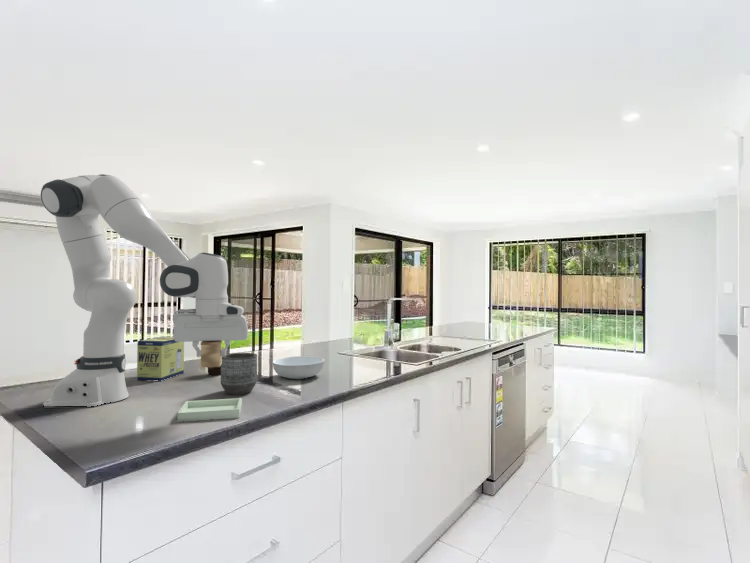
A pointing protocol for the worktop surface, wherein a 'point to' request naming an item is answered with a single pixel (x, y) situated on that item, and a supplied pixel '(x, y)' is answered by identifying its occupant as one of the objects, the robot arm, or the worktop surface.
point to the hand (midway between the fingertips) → (211, 356)
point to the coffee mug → (214, 370)
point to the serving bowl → (298, 366)
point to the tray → (210, 409)
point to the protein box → (159, 358)
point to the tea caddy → (211, 354)
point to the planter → (239, 373)
